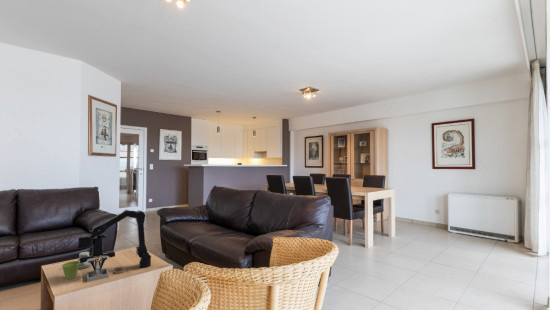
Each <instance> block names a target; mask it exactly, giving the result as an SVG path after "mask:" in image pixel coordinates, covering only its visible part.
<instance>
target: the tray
mask: <svg viewBox="0 0 550 310" xmlns="http://www.w3.org/2000/svg"><path fill="white" fill-rule="evenodd" d="M108 270H109V269H108V267H107V268H102V269H101V273H100V274H95V271H94V270H91V271H87V272H86V283H90V282H93V281H94V282H95V281H98V280H103V279H107V278H109V275H110V274H109V273H110V272H109V271H108ZM104 273H105V274H104Z"/></svg>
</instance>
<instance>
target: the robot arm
mask: <svg viewBox="0 0 550 310" xmlns="http://www.w3.org/2000/svg"><path fill="white" fill-rule="evenodd" d="M127 217H128V218H133V219H135V222H136V224H137V225H136V226H137V240H138V241H137V243H138V244H137V245H138V246H136V247H135V250H136V251H135V254H136V255H137V256H138V258H140V259H139V263H138V266H139V269H146V268H149V267H151V266H152V261H151V260H152V255H151V254H150V253H149V252H148V249H147V246H146V240H145V225H144V224H145V220H146V213H145V212H144V211H142V210H137V211H135V210H129V209H124V210H123V211H122V212H120V213H118V214H117V215H115V216H113V217H111V218H110V219H108V220H107V221H104V222H102V223H101V222H100V223H99V224H96V225H94V226H93V227H92V230H91V232H90V233H89V235H87V236H79V237H78V242H77V243H78V244H77V249H83V248H84V249H85V248H89V247H90V246H91V245H92V247H90V248H89V254H91V255H89V256H87V255H84V256H81V257H80V263H83V262H86V261H87V260H88V263H91V267H92V269H93V271H95V262H94V259H97V258H101V269H103V265H104V264H105V262H106V260H108V258H115V257H116V252H115V251H116V250H107V252H105V253H104V239H105V238H108V237H107V235H106V234H105V233H104V232H106V231H107V230H108V229H109V228H110V227H112V226H114V225H116V224H118V222H121V221H122V220H124V219H125V218H127Z"/></svg>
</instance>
